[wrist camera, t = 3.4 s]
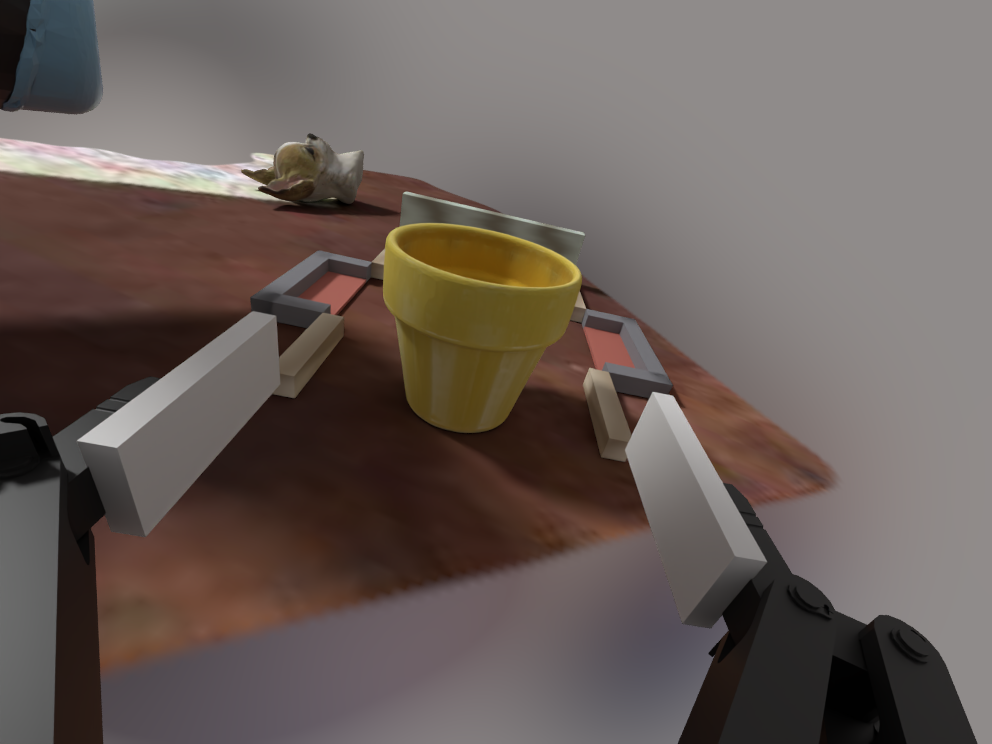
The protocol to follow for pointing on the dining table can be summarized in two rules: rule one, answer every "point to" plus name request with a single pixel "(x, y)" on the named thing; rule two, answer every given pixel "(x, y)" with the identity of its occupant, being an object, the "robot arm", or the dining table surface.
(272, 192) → the ceramic sculpture
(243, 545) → the dining table surface
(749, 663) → the robot arm
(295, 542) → the dining table surface
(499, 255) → the plant pot
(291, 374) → the box
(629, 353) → the trap bays
